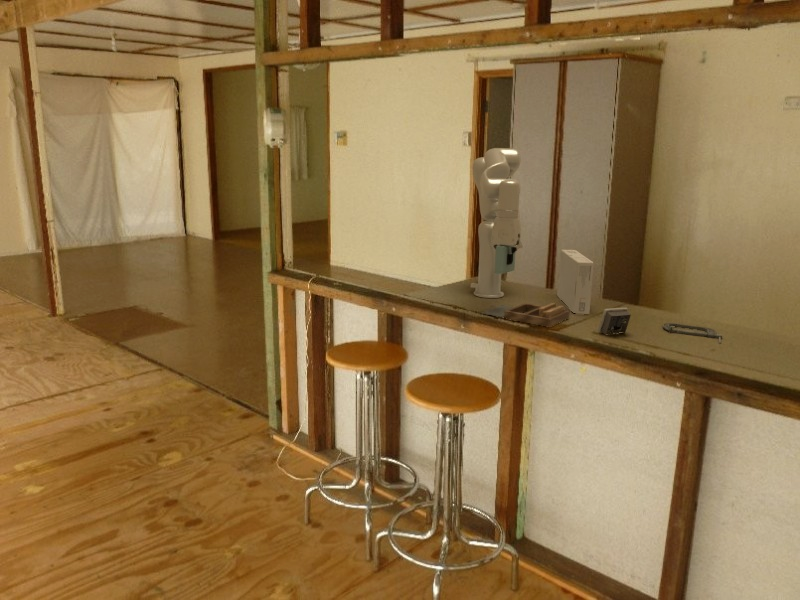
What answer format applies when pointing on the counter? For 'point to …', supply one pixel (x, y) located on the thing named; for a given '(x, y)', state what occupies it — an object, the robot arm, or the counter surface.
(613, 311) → the electrical switch
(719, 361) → the counter surface
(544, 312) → the offcuts
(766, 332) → the counter surface
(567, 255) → the packaging
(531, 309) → the brown divided tray
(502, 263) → the teal square block
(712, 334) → the c clamp
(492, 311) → the mat
